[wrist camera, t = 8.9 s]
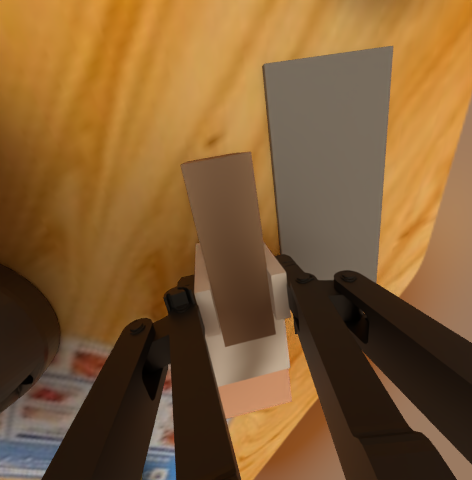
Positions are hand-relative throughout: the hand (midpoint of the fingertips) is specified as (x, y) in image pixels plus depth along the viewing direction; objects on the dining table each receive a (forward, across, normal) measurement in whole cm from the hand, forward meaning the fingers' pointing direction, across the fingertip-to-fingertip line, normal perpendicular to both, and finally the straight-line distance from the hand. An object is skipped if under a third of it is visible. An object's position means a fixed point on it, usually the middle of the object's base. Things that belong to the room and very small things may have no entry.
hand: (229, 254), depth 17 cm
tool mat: (+4, +10, +2) cm, 11 cm away
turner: (0, 0, -3) cm, 3 cm away
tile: (+3, 0, -12) cm, 12 cm away
